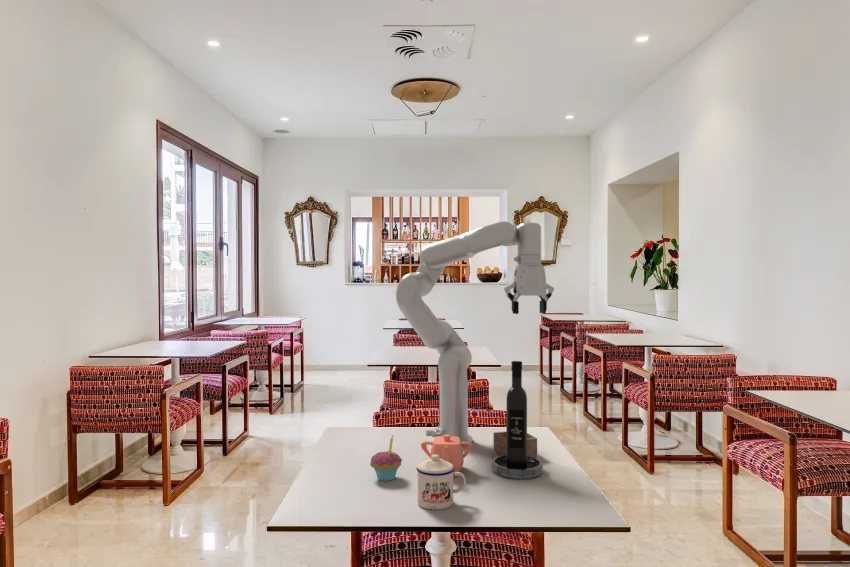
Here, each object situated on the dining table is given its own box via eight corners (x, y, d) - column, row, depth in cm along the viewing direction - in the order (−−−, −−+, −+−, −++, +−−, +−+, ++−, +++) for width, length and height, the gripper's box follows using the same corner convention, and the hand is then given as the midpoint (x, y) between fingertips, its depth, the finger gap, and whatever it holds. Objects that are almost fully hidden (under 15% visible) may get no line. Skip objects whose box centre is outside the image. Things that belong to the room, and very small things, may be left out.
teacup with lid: (418, 511, 134) (418, 461, 134) (414, 497, 143) (414, 450, 143) (469, 509, 135) (469, 460, 135) (462, 494, 144) (462, 448, 144)
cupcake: (406, 474, 159) (406, 431, 159) (394, 485, 151) (394, 439, 151) (377, 471, 162) (377, 429, 162) (364, 481, 154) (364, 436, 154)
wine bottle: (526, 471, 160) (527, 363, 159) (506, 469, 160) (506, 362, 160) (526, 464, 165) (526, 360, 165) (506, 463, 166) (506, 360, 166)
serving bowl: (504, 481, 154) (504, 472, 154) (484, 465, 167) (484, 456, 167) (551, 476, 158) (551, 467, 158) (528, 461, 171) (528, 452, 171)
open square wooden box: (506, 461, 172) (506, 441, 171) (493, 451, 181) (493, 432, 181) (537, 458, 174) (537, 438, 174) (522, 448, 184) (522, 430, 184)
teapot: (415, 467, 165) (415, 432, 165) (447, 460, 172) (447, 426, 172) (445, 482, 154) (445, 444, 154) (479, 473, 161) (479, 437, 161)
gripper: (509, 260, 181) (509, 314, 181) (558, 260, 186) (558, 313, 186) (500, 261, 188) (500, 313, 188) (547, 261, 193) (547, 312, 193)
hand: (529, 313), depth 187 cm, fingers open, 9 cm apart
